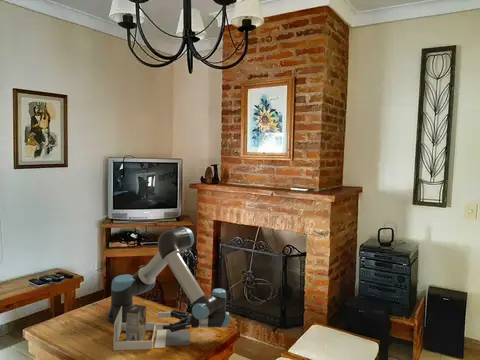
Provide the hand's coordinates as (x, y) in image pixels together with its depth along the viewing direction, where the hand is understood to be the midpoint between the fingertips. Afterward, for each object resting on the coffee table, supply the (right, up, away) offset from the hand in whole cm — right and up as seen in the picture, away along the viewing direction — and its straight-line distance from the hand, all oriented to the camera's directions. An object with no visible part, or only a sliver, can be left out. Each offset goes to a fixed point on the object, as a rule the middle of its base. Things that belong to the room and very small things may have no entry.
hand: (156, 320), depth 189 cm
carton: (-8, -9, 0) cm, 12 cm away
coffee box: (-11, -9, -1) cm, 14 cm away
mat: (+10, -10, +2) cm, 14 cm away
